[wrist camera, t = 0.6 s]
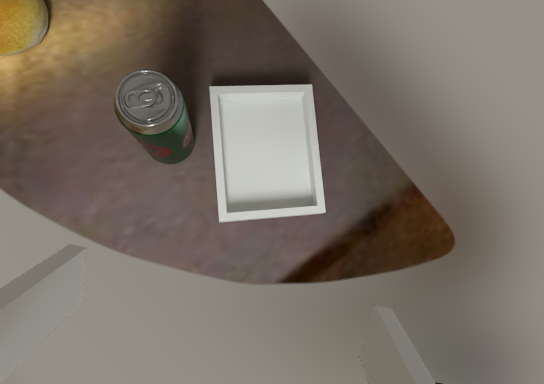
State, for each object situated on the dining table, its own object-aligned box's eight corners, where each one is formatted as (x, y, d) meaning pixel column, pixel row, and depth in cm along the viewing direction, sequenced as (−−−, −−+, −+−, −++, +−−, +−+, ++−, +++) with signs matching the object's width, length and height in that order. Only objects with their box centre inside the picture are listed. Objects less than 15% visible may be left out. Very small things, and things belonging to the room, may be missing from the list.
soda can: (199, 159, 36) (189, 124, 24) (151, 169, 35) (116, 137, 23) (189, 115, 36) (174, 58, 24) (141, 123, 35) (102, 69, 24)
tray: (210, 96, 37) (209, 86, 34) (305, 93, 39) (311, 84, 36) (219, 222, 35) (219, 221, 33) (318, 213, 37) (325, 212, 35)
